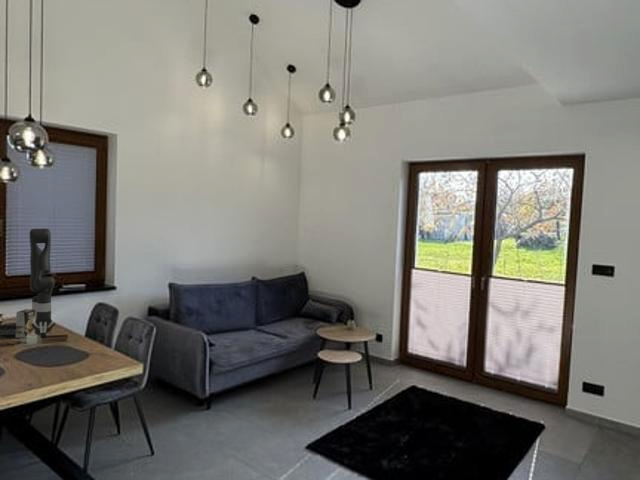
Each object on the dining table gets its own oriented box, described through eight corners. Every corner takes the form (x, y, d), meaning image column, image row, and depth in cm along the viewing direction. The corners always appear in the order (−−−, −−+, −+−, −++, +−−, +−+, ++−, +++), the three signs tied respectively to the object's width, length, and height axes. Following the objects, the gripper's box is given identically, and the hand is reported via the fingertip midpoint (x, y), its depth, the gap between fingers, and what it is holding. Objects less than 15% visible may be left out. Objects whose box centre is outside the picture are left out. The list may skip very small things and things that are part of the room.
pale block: (27, 341, 270) (27, 334, 270) (37, 340, 272) (37, 334, 272) (26, 343, 265) (26, 337, 265) (36, 343, 268) (36, 336, 268)
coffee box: (25, 338, 278) (26, 312, 277) (15, 337, 278) (15, 311, 277) (35, 334, 287) (35, 309, 286) (25, 333, 287) (25, 308, 286)
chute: (43, 339, 277) (43, 334, 277) (67, 338, 283) (68, 333, 283) (41, 345, 266) (41, 339, 266) (66, 343, 272) (66, 338, 272)
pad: (22, 340, 272) (22, 339, 272) (43, 339, 277) (43, 338, 277) (19, 346, 262) (19, 345, 261) (41, 345, 266) (41, 344, 266)
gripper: (57, 308, 277) (56, 336, 278) (32, 309, 271) (31, 337, 272) (55, 311, 270) (55, 339, 271) (29, 311, 265) (29, 341, 265)
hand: (43, 338), depth 272 cm, fingers closed
